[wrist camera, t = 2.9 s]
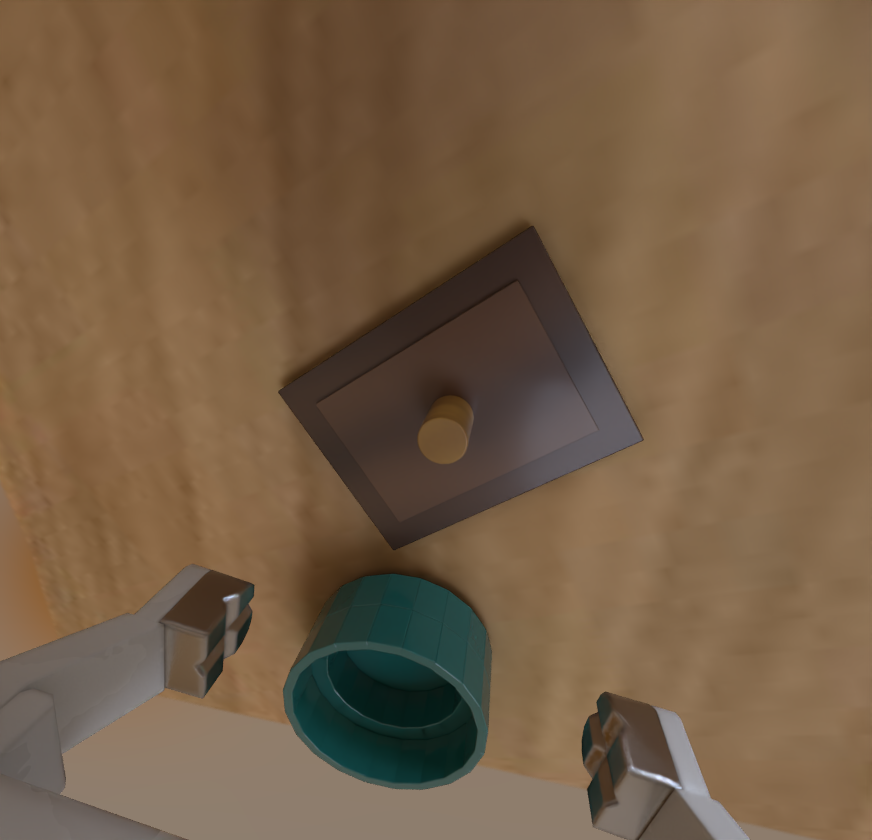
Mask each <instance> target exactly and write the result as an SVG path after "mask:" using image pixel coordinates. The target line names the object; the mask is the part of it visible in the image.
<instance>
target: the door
mask: <svg viewBox="0 0 872 840" xmlns="http://www.w3.org/2000/svg"><path fill="white" fill-rule="evenodd" d="M278 393H279V394H280V395H281V397H282V398H283V399H284V401H285V402H286V404H287V405H288V406H289V408H290V409H291V410H292V412H293V413H294V415H295V416H296V417H297V419H298V420H299V421H300V423H301V424H302V426H303V427H304V428H305V430H306V431H307V432H308V434H309V435H310V437H311V438H312V439H313V441H314V442H315V443H316V445H317V446H318V447H319V449H320V450H321V452H322V453H323V454H324V456H325V457H326V458H327V460H328V461H329V463H330V464H331V465H332V467H333V468H334V469H335V471H336V472H337V474H338V475H339V476H340V478H341V479H342V480H343V482H344V483H345V485H346V486H347V487H348V489H349V490H350V491H351V493H352V494H353V495H354V497H355V498H356V500H357V501H358V502H359V504H360V505H361V506H362V508H363V509H364V511H365V512H366V513H367V515H368V516H369V517H370V519H371V520H372V522H373V523H374V524H375V526H376V527H377V528H378V530H379V531H380V533H381V534H382V535H383V537H384V538H385V539H386V541H387V542H388V544H389V545H390V546H391V548H392V549H393V550H396V549H398V548H400V547H403V546H405V545H407V544H409V543H412V542H414V541H416V540H418V539H421V538H423V537H425V536H428V535H430V534H432V533H434V532H437V531H439V530H441V529H443V528H446V527H448V526H450V525H453V524H455V523H457V522H459V521H462V520H464V519H466V518H468V517H471V516H473V515H475V514H477V513H480V512H482V511H484V510H487V509H489V508H491V507H493V506H496V505H498V504H500V503H502V502H505V501H507V500H509V499H511V498H514V497H516V496H518V495H521V494H523V493H525V492H527V491H530V490H532V489H534V488H536V487H539V486H541V485H543V484H546V483H548V482H550V481H552V480H555V479H557V478H559V477H561V476H564V475H566V474H568V473H570V472H573V471H575V470H577V469H580V468H582V467H584V466H586V465H589V464H591V463H593V462H595V461H598V460H600V459H602V458H604V457H607V456H609V455H611V454H614V453H616V452H618V451H620V450H623V449H625V448H627V447H629V446H632V445H634V444H636V443H638V442H641V441H643V440H644V439H643V437H642V435H641V433H640V431H639V429H638V427H637V425H636V423H635V421H634V419H633V417H632V416H631V414H630V412H629V410H628V408H627V406H626V404H625V402H624V400H623V398H622V396H621V394H620V392H619V390H618V388H617V387H616V385H615V383H614V381H613V379H612V377H611V375H610V373H609V371H608V369H607V367H606V365H605V363H604V361H603V359H602V358H601V356H600V354H599V352H598V350H597V348H596V346H595V344H594V342H593V340H592V338H591V336H590V334H589V332H588V330H587V328H586V327H585V325H584V323H583V321H582V319H581V317H580V315H579V313H578V311H577V309H576V307H575V305H574V303H573V301H572V299H571V298H570V296H569V294H568V292H567V290H566V288H565V286H564V284H563V282H562V280H561V278H560V276H559V274H558V272H557V270H556V268H555V267H554V265H553V263H552V261H551V259H550V257H549V255H548V253H547V251H546V249H545V247H544V245H543V243H542V241H541V239H540V238H539V236H538V234H537V232H536V230H535V228H534V226H531V227H530V228H528V229H527V230H525V231H524V232H522V233H520V234H519V235H517V236H516V237H514V238H513V239H511V240H510V241H508V242H507V243H505V244H504V245H502V246H500V247H499V248H497V249H496V250H494V251H493V252H491V253H490V254H488V255H487V256H485V257H484V258H482V259H481V260H479V261H477V262H476V263H474V264H473V265H471V266H470V267H468V268H467V269H465V270H464V271H462V272H461V273H459V274H457V275H456V276H454V277H453V278H451V279H450V280H448V281H447V282H445V283H444V284H442V285H441V286H439V287H437V288H436V289H434V290H433V291H431V292H430V293H428V294H427V295H425V296H424V297H422V298H421V299H419V300H418V301H416V302H414V303H413V304H411V305H410V306H408V307H407V308H405V309H404V310H402V311H401V312H399V313H398V314H396V315H394V316H393V317H391V318H390V319H388V320H387V321H385V322H384V323H382V324H381V325H379V326H378V327H376V328H375V329H373V330H371V331H370V332H368V333H367V334H365V335H364V336H362V337H361V338H359V339H358V340H356V341H355V342H353V343H351V344H350V345H348V346H347V347H345V348H344V349H342V350H341V351H339V352H338V353H336V354H335V355H333V356H331V357H330V358H328V359H327V360H325V361H324V362H322V363H321V364H319V365H318V366H316V367H315V368H313V369H312V370H310V371H308V372H307V373H305V374H304V375H302V376H301V377H299V378H298V379H296V380H295V381H293V382H292V383H290V384H288V385H287V386H285V387H284V388H282V389H281V390H279V391H278Z"/></svg>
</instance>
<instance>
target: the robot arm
mask: <svg viewBox="0 0 872 840" xmlns="http://www.w3.org/2000/svg"><path fill="white" fill-rule="evenodd" d="M253 597H254V585H253V584H252V583H249V582H246V581H244V580H241V579H238V578H235V577H232V576H229V575H226V574H223V573H220V572H217V571H214V570H210V569H207V568H204V567H201V566H198V565H195V564H191V565H189V566H186V567H185V568H183V569H182V570H181V571H180V572H179V573H178V574H177V575H176V576H175V577H174V578H173V579H172V580H171V581H169V582H168V583H167V584H166V585H165V586H164V587H163V588H162V589H161V590H160V591H159V592H158V593H157V594H156V595H155V596H153V597H152V598H151V599H150V600H149V601H148V602H147V603H146V604H145V605H144V606H143V607H142V608H141V609H140V610H138V611H137V612H136V613H135V614H134V615H133V614H130V613H126V614H123V615H121V616H118V617H116V618H113V619H110V620H108V621H105V622H102V623H100V624H97V625H94V626H92V627H89V628H87V629H84V630H81V631H79V632H76V633H73V634H71V635H68V636H66V637H63V638H60V639H58V640H55V641H52V642H50V643H48V644H45V645H42V646H39V647H37V648H34V649H31V650H29V651H26V652H24V653H21V654H18V655H16V656H13V657H10V658H8V659H5V660H2V661H0V840H187V839H184V838H182V837H179V836H176V835H173V834H170V833H167V832H165V831H162V830H159V829H156V828H153V827H151V826H148V825H145V824H142V823H139V822H136V821H133V820H131V819H128V818H125V817H122V816H119V815H117V814H114V813H111V812H108V811H105V810H102V809H99V808H96V807H94V806H91V805H88V804H85V803H83V802H80V801H77V800H74V799H71V798H68V797H66V796H63V795H60V793H61V792H62V791H63V790H64V788H65V782H66V777H65V770H64V764H63V757H62V754H63V753H64V752H66V751H68V750H69V749H71V748H72V747H74V746H76V745H77V744H79V743H80V742H82V741H84V740H85V739H87V738H88V737H90V736H92V735H93V734H95V733H96V732H98V731H100V730H101V729H103V728H105V727H106V726H108V725H109V724H111V723H113V722H114V721H116V720H117V719H119V718H121V717H122V716H124V715H125V714H127V713H128V712H130V711H132V710H133V709H135V708H137V707H138V706H140V705H141V704H143V703H145V702H146V701H148V700H149V699H151V698H153V697H154V696H156V695H157V694H159V693H161V692H162V691H164V688H168V689H171V690H175V691H178V692H181V693H185V694H188V695H192V696H195V697H199V698H202V699H203V698H204V696H205V695H206V694H207V692H208V691H209V689H210V688H211V687H212V685H213V684H214V682H215V681H216V679H217V678H218V677H219V675H220V674H221V672H222V671H223V659H225V658H227V657H229V656H231V655H233V654H235V652H236V651H237V649H238V648H239V647H240V645H241V644H242V642H243V640H244V638H245V636H246V634H247V632H248V629H249V626H250V623H251V619H252V609H251V608H250V606H249V604H248V603H249V602H250V601H251V599H252V598H253ZM596 703H597V708H598V712H597V713H595V714H592V715H590V716H589V717H588V719H587V722H586V724H585V726H584V730H583V736H582V757H583V764H584V767H585V768H586V770H587V771H588V773H589V774H590V776H591V777H592V779H593V780H592V781H591V783H590V785H589V787H588V788H587V791H588V798H589V804H590V811H591V817H592V823H593V827H594V828H596V829H600V830H602V831H605V832H608V833H610V834H613V835H616V836H619V837H621V838H624V839H627V840H750V838H749V837H748V836H747V835H746V834H745V833H744V831H743V830H742V829H741V828H740V826H739V825H738V824H737V823H736V822H735V820H734V819H733V818H732V817H731V816H730V814H729V813H728V812H727V811H726V810H725V808H724V807H723V806H722V805H721V804H720V802H718V801H716V800H713V799H711V797H710V795H709V792H708V789H707V787H706V784H705V781H704V779H703V776H702V774H701V771H700V768H699V766H698V763H697V761H696V758H695V755H694V753H693V750H692V747H691V745H690V742H689V740H688V737H687V734H686V732H685V729H684V727H683V724H682V721H681V719H680V717H679V716H678V715H677V714H676V713H675V712H672V711H669V710H665V709H662V708H659V707H655V706H650V705H649V704H646V703H643V702H639V701H636V700H633V699H629V698H626V697H622V696H619V695H616V694H612V693H609V692H604V693H602V694H601V695H600V697H599V699H598V700H597V702H596Z"/></svg>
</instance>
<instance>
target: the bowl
mask: <svg viewBox="0 0 872 840" xmlns="http://www.w3.org/2000/svg"><path fill="white" fill-rule="evenodd" d="M491 660H492V650H491V646H490V642H489V639H488V635H487V631H486V629H485V627H484V626H483V625H482V623H481V622H480V620H479V619H478V617H477V616H476V615H475V613H474V612H473V610H472V609H471V608H470V607H469V606H468V605H467V604H465V603H464V602H463V601H462V600H460V599H459V598H458V597H456V596H455V595H454V594H453V593H451V592H450V591H448V590H447V589H445V588H442V587H440V586H438V585H436V584H433V583H431V582H429V581H426V580H424V579H422V578H417V577H411V576H405V575H399V574H383V575H373V576H365V577H362V578H359V579H357V580H355V581H352V582H350V583H348V584H345V585H343V586H342V587H340V588H339V589H338V590H337V591H336V592H335V593H334V594H333V595H332V596H331V597H330V598H329V599H328V600H327V601H326V603H325V605H324V607H323V609H322V610H321V612H320V614H319V616H318V618H317V620H316V622H315V624H314V626H313V628H312V629H311V631H310V633H309V635H308V637H307V639H306V641H305V643H304V645H303V647H302V648H301V650H300V652H299V654H298V656H297V658H296V660H295V662H294V664H293V666H292V667H291V669H290V672H289V675H288V677H287V680H286V683H285V685H284V688H283V696H284V707H285V713H286V715H287V717H288V719H289V721H290V723H291V725H292V727H293V729H294V731H295V733H296V735H297V736H298V737H299V738H300V739H301V740H302V741H303V742H304V743H305V745H307V747H308V748H309V749H310V750H311V751H312V752H313V753H314V754H315V755H317V756H318V757H319V758H321V759H322V760H324V761H325V762H327V763H328V764H330V765H331V766H332V767H334V768H336V769H337V770H339V771H341V772H343V773H346V774H348V775H350V776H352V777H355V778H357V779H359V780H362V781H364V782H367V783H371V784H375V785H380V786H384V787H388V788H394V789H417V790H418V789H419V790H423V789H428V788H433V787H438V786H443V785H447V784H450V783H452V782H454V781H456V780H458V779H459V778H461V777H463V776H465V775H466V774H468V773H470V772H471V771H472V770H473V768H474V767H475V766H476V764H477V763H478V762H479V760H480V759H481V758H482V756H483V755H484V753H485V748H486V742H487V736H488V725H489V703H490V682H491Z"/></svg>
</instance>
